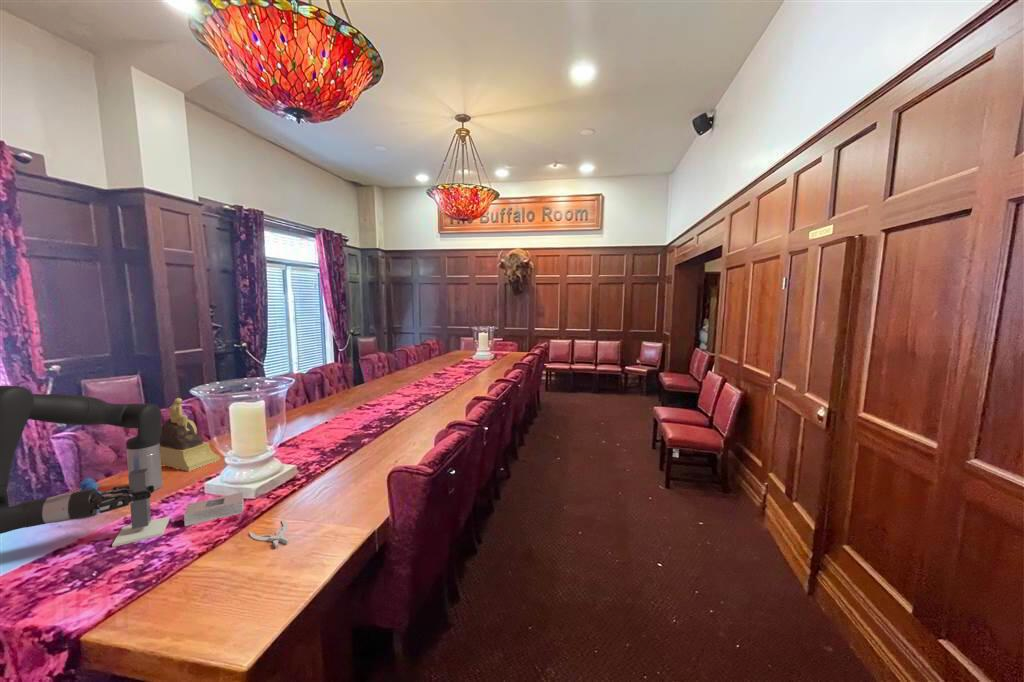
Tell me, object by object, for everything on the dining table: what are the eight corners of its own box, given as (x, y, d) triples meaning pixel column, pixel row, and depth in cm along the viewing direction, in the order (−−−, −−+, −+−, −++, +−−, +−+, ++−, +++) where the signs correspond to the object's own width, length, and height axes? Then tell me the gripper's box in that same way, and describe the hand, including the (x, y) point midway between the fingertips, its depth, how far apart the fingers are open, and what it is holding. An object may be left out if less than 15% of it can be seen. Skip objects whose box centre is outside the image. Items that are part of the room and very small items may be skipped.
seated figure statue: (220, 460, 175) (217, 396, 173) (189, 472, 163) (184, 402, 161) (179, 453, 184) (175, 391, 182) (147, 463, 172) (142, 397, 170)
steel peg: (135, 523, 119) (131, 470, 118) (150, 520, 121) (147, 468, 120) (131, 529, 116) (128, 475, 115) (147, 525, 118) (144, 472, 117)
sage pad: (123, 528, 121) (123, 526, 121) (169, 518, 127) (169, 516, 127) (112, 547, 112) (112, 544, 112) (162, 535, 118) (162, 532, 118)
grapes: (66, 515, 129) (62, 480, 128) (94, 505, 135) (91, 472, 134) (81, 523, 124) (78, 487, 123) (110, 513, 130) (107, 479, 129)
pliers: (283, 517, 126) (300, 535, 116) (283, 521, 126) (300, 540, 116) (248, 529, 119) (263, 550, 109) (248, 534, 119) (263, 555, 109)
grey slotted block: (188, 515, 129) (187, 503, 129) (243, 502, 137) (243, 492, 137) (184, 526, 122) (184, 514, 122) (242, 512, 131) (242, 501, 130)
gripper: (59, 503, 104) (146, 488, 113) (80, 484, 116) (156, 471, 125) (61, 530, 105) (147, 512, 114) (82, 508, 116) (158, 493, 126)
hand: (151, 491), depth 120 cm, fingers closed on steel peg, 3 cm apart
